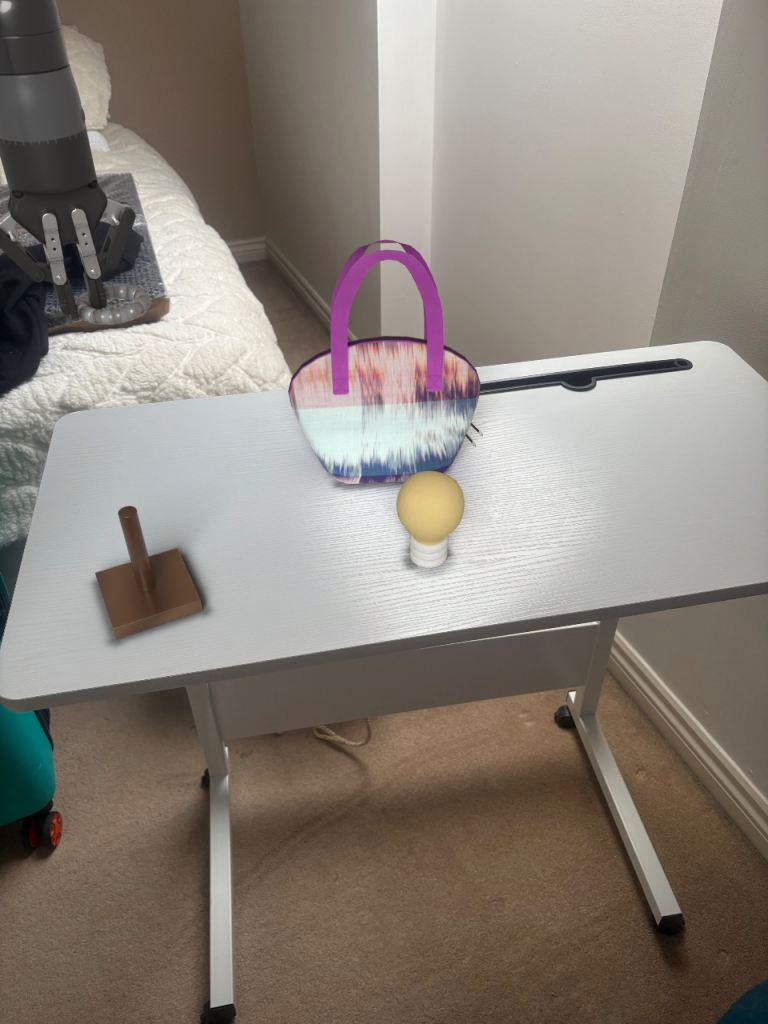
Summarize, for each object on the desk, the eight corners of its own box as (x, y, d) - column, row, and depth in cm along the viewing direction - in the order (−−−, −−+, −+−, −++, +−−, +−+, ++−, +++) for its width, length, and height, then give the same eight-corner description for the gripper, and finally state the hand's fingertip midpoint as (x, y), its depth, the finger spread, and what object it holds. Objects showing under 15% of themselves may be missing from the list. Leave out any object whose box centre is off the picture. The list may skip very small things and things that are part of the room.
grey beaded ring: (84, 332, 79) (81, 319, 78) (70, 303, 84) (67, 290, 83) (159, 318, 81) (156, 304, 81) (141, 290, 86) (139, 277, 86)
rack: (116, 640, 74) (88, 553, 67) (98, 583, 79) (71, 498, 73) (203, 611, 77) (185, 525, 70) (179, 558, 82) (161, 473, 75)
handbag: (474, 430, 99) (490, 223, 83) (487, 480, 92) (508, 263, 76) (295, 437, 98) (277, 229, 82) (293, 488, 91) (273, 270, 75)
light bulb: (387, 574, 80) (387, 493, 74) (405, 532, 85) (407, 453, 79) (452, 587, 79) (457, 506, 72) (466, 544, 84) (473, 464, 77)
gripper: (111, 107, 76) (145, 287, 87) (-51, 124, 71) (7, 312, 82) (130, 126, 70) (164, 315, 81) (-43, 146, 66) (17, 344, 77)
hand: (85, 313), depth 82 cm, fingers closed on grey beaded ring, 1 cm apart
